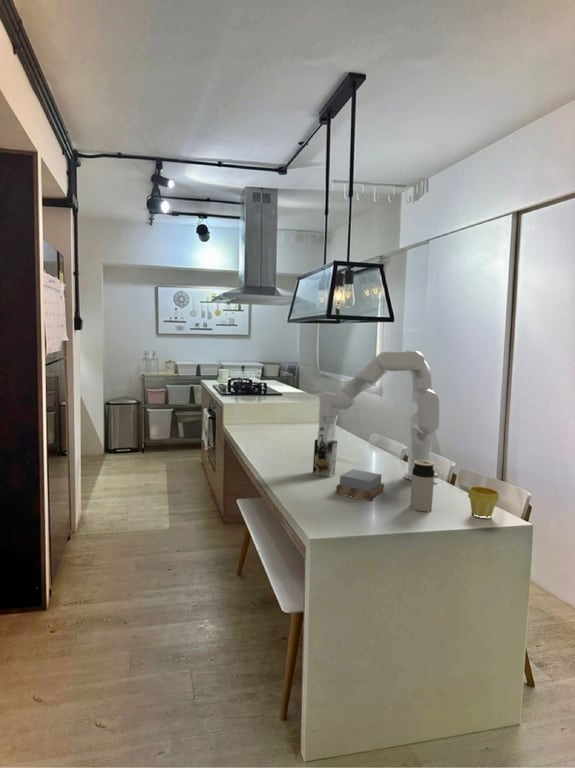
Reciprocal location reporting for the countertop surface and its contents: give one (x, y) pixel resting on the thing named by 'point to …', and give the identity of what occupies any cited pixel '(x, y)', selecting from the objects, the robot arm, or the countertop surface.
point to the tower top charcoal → (360, 480)
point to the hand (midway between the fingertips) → (324, 457)
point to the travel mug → (422, 485)
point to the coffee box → (325, 460)
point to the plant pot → (482, 500)
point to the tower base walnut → (360, 492)
